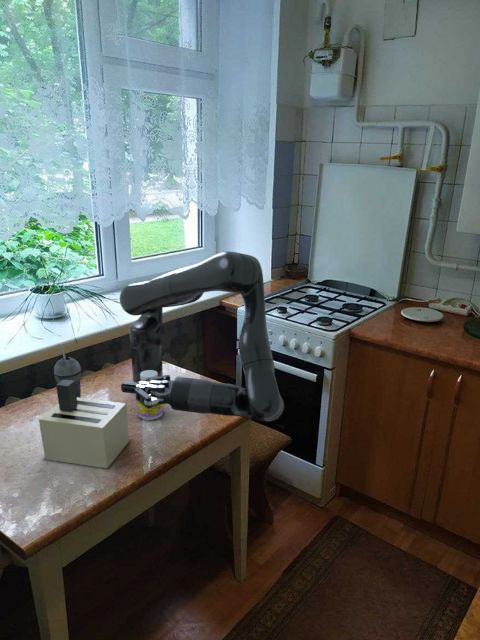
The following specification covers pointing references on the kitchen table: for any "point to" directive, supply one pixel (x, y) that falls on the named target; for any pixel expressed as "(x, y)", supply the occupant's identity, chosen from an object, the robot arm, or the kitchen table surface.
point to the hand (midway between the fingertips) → (122, 386)
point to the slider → (67, 395)
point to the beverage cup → (68, 371)
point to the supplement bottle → (156, 408)
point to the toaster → (85, 432)
